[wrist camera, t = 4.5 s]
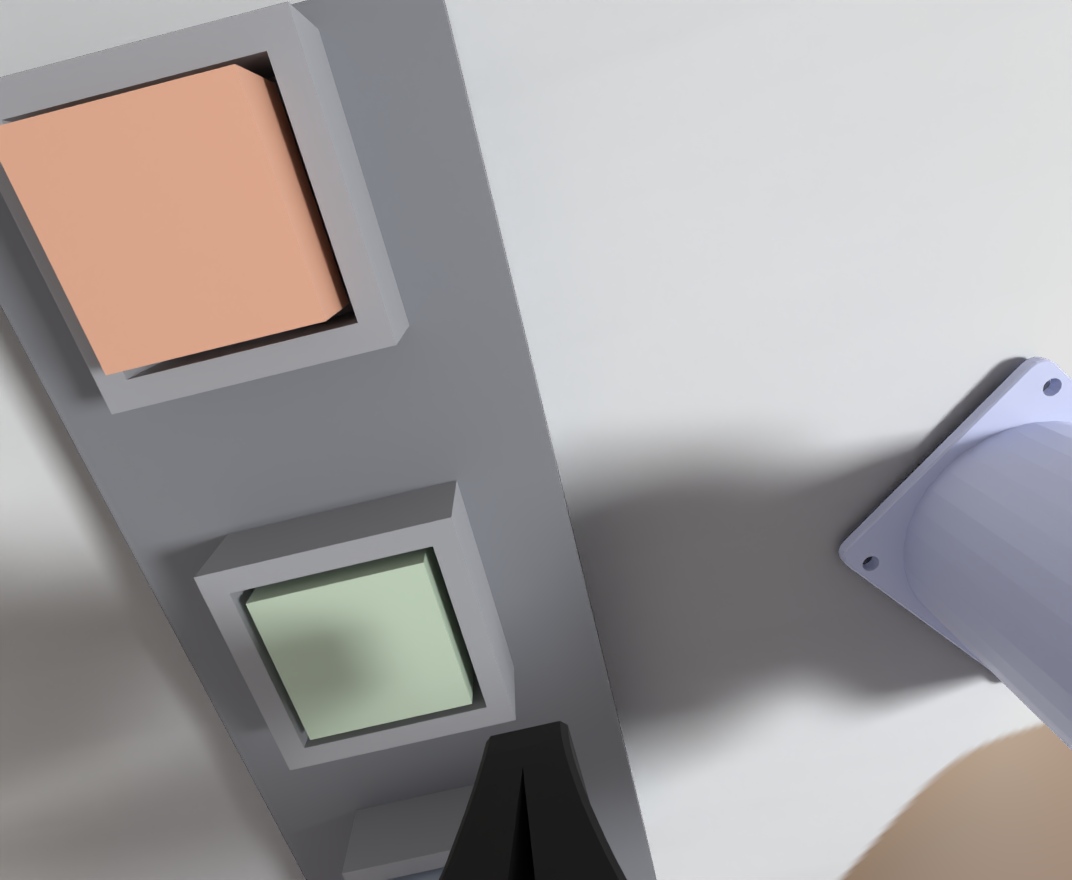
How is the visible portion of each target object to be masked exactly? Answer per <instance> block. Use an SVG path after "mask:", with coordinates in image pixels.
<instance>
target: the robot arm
mask: <svg viewBox="0 0 1072 880" xmlns="http://www.w3.org/2000/svg"><path fill="white" fill-rule="evenodd" d="M1050 379H1051V381H1050V385H1049V386H1048V388H1047V389H1046V390H1044V391H1043V386H1044V385H1045V383H1046V382H1047V381H1049V380H1050ZM838 553H839V557H840V559H841V560H842V561H843V562H844V563H845V564H846V565H847V566H848V567H849V568H851V569H852V570H853V571H855V572H856V573H857V574H859V575H860V576H861V577H863V578H864V579H866V580H867V581H868V582H870V583H871V584H872V585H874V586H875V587H876V588H878V589H879V590H881V591H882V592H883V593H885V594H886V595H887V596H889V597H890V598H892V599H893V600H894V601H896V602H897V603H898V604H900V605H901V606H902V607H904V608H905V609H907V610H908V611H909V612H911V613H912V614H913V615H915V616H916V617H918V618H919V619H920V620H922V621H923V622H924V623H926V624H927V625H928V626H930V627H931V628H933V629H934V630H935V631H937V632H938V633H939V634H941V635H942V636H943V637H945V638H946V639H948V640H949V641H950V642H952V643H953V644H954V645H956V646H957V647H959V648H960V649H961V650H963V651H964V652H965V653H967V654H968V655H969V656H971V657H972V658H974V659H975V660H976V661H978V662H979V663H980V664H982V665H983V666H985V667H986V668H987V669H989V670H990V671H991V672H992V673H993V674H994V675H995V676H996V677H997V678H998V679H999V680H1000V681H1001V682H1003V683H1004V684H1005V685H1006V686H1007V687H1008V688H1009V689H1010V690H1011V691H1012V692H1013V693H1014V694H1015V695H1016V696H1017V697H1018V698H1019V699H1020V700H1021V701H1022V702H1023V703H1024V704H1025V705H1026V706H1027V707H1028V708H1029V709H1030V710H1031V711H1032V712H1033V713H1034V714H1035V715H1036V716H1037V717H1038V718H1039V719H1040V720H1041V721H1042V722H1043V723H1044V724H1045V725H1047V726H1048V727H1049V728H1050V729H1051V730H1052V731H1053V732H1054V733H1055V734H1056V735H1057V736H1058V737H1059V738H1060V739H1061V740H1062V741H1063V742H1064V743H1065V744H1066V745H1067V746H1068V747H1069V748H1070V749H1071V750H1072V379H1071V378H1070V377H1069V376H1068V375H1067V374H1066V373H1065V372H1064V371H1063V370H1062V369H1061V368H1060V367H1059V366H1058V365H1057V364H1055V363H1054V362H1053V361H1051V360H1049V359H1045V358H1042V357H1033V358H1030V359H1027V360H1026V361H1024V362H1023V363H1022V364H1021V365H1020V366H1019V367H1018V368H1017V369H1016V370H1015V371H1014V372H1013V373H1012V374H1011V375H1010V376H1009V377H1008V378H1007V379H1006V380H1005V381H1004V382H1003V383H1002V384H1001V385H1000V386H999V387H998V388H997V389H996V390H995V391H994V392H993V393H992V394H991V395H990V396H989V397H988V398H987V399H986V400H985V401H984V402H983V403H982V404H981V405H980V406H979V407H978V408H977V409H976V410H975V411H974V412H973V413H972V414H971V415H970V416H969V417H968V418H967V419H966V420H965V421H964V422H963V423H962V424H961V425H960V426H959V427H958V428H957V429H956V430H955V431H954V432H953V433H952V434H951V435H950V436H949V437H948V438H947V439H946V440H945V441H944V442H943V443H942V444H941V445H940V446H939V447H938V448H937V449H936V450H935V451H934V452H933V453H932V454H931V455H930V456H929V457H928V458H927V459H926V460H925V461H924V462H923V463H922V464H921V465H920V466H919V467H918V468H917V469H916V470H915V471H914V472H913V473H912V474H911V475H910V476H909V477H908V478H907V479H906V480H905V481H904V482H903V483H902V484H901V485H900V486H899V487H898V488H897V489H896V490H895V491H894V492H893V493H892V494H891V495H890V496H889V497H888V498H887V499H886V500H885V501H884V502H883V503H882V504H881V505H880V506H879V507H878V508H877V509H876V510H875V511H874V512H873V513H872V514H871V515H870V516H869V517H868V518H867V519H866V520H865V521H864V522H863V523H862V524H861V525H860V526H859V527H858V528H857V529H856V530H855V531H854V532H853V533H852V534H851V535H850V536H849V537H848V538H847V539H846V540H845V541H844V542H843V543H842V544H841V546H840V548H839V552H838ZM871 556H872V559H871V560H870V561H869V562H868V563H866V564H863V562H864V560H865V559H866V558H868V557H871ZM439 880H627V879H626V877H625V875H624V873H623V871H622V869H621V867H620V865H619V864H618V862H617V860H616V858H615V856H614V854H613V852H612V850H611V848H610V846H609V844H608V842H607V840H606V838H605V835H604V833H603V831H602V829H601V826H600V824H599V822H598V820H597V818H596V815H595V813H594V811H593V809H592V806H591V804H590V801H589V797H588V794H587V790H586V787H585V783H584V780H583V776H582V773H581V769H580V766H579V762H578V759H577V755H576V752H575V748H574V745H573V741H572V738H571V734H570V731H569V727H568V725H567V724H565V723H563V722H562V721H557V722H552V723H547V724H543V725H538V726H534V727H529V728H525V729H520V730H516V731H511V732H506V733H502V734H497V735H493V736H490V738H489V739H488V740H487V742H486V744H485V748H484V752H483V756H482V759H481V763H480V766H479V770H478V773H477V776H476V780H475V783H474V786H473V789H472V792H471V795H470V798H469V801H468V804H467V807H466V810H465V813H464V816H463V818H462V821H461V824H460V827H459V829H458V832H457V835H456V837H455V840H454V843H453V845H452V848H451V851H450V853H449V856H448V859H447V861H446V864H445V866H444V869H443V871H442V873H441V876H440V878H439Z"/></svg>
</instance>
